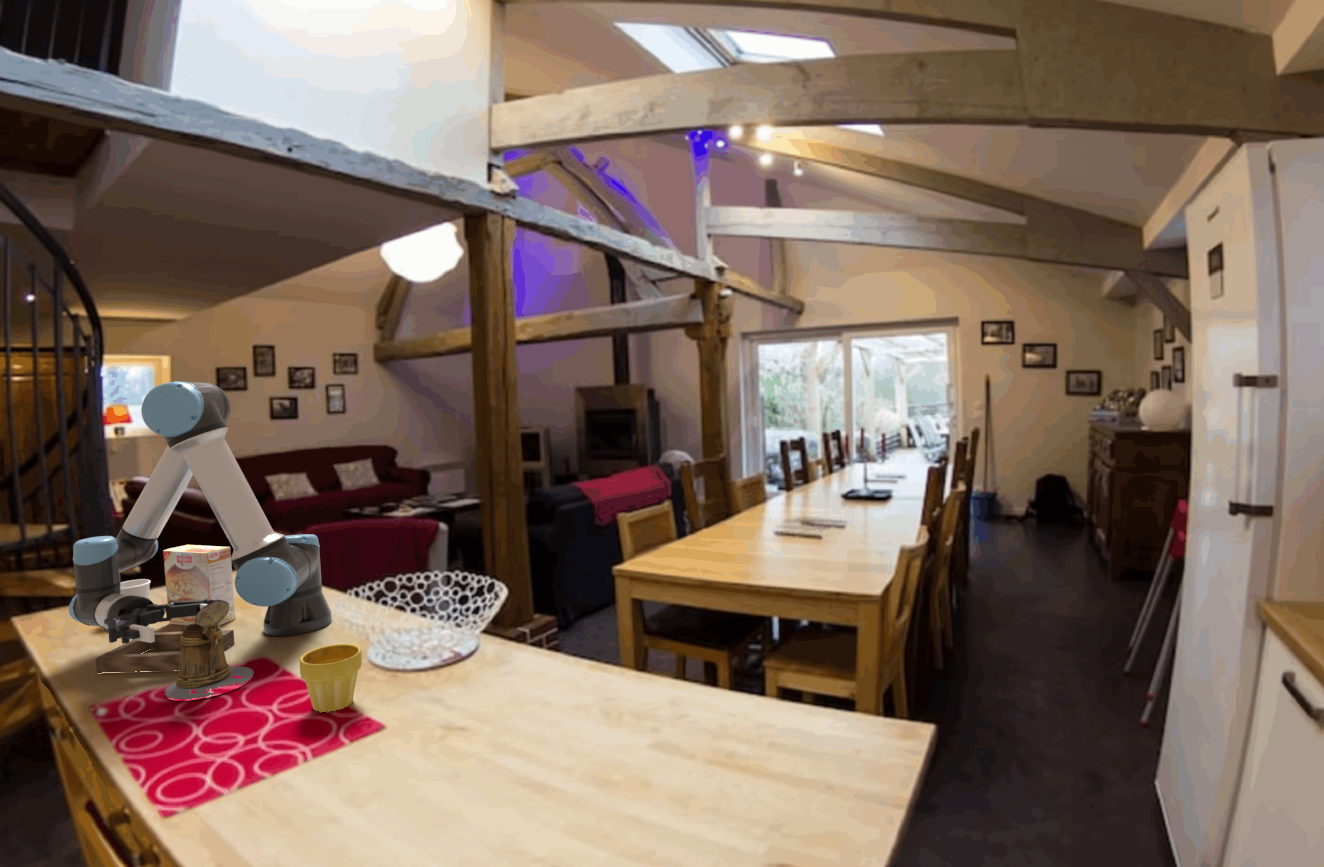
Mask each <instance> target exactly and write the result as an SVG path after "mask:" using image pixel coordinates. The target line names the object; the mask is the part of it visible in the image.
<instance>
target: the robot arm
mask: <svg viewBox="0 0 1324 867" xmlns="http://www.w3.org/2000/svg"><path fill="white" fill-rule="evenodd" d="M140 410H141V412H140V413H141V417H142V421H143V422H144V424H145V425H146V427H147V428H148V429H150V430H151V431H152V432H153V433H155V434H157V435H159V436H162V437H163V438H164V441H165V442H166V444H167V446H166V448H165V450H164V452H163V454H162V455H161V457H160V458H159V461H158V462H157V464H156V466H155V467H154V470H153V471H152V473H151V474H150V477H149V479H148V480H147V482H146V484H145V485H144V487H143V490H142V491H141V492H140V494H139V497H138V498H137V500H136V501H135V504H134V505H133V506H132V509H131V510H130V512H129V514H128V516H127V518H126V519H125V521H124V523H123V525H122V527H121V529H120V531H119V533H118V534H117V536H116V537H114V536H112V535H102V536H101V535H100V536H99V535H98V536H93V537H87V538H83V539H79V540H77V541H76V542H74V544H73V546H72V548H73V549H72V550H73V554H72V555H73V556H72V561H73V569H74V578H75V587H76V588H75V589H76V591H75V592H76V594H75V595H74V596H73V597H72V599H71V601H70V603H69V605H68V614H69V616H70V617H71V619H73V620H74V621H75V622H77V623H80V624H83V625H85V626H89V627H90V626H91V627H92V626H93V627H100V628H104V632H105V633H108V634H107V635H108V642H109V643H116V642H117V641H118V639H121V645H124V644H126V643H128V642H130V640H139V641H144V642H149V643H152V642H155V637H154V633H155V628H154V627H150V626H149V625H153V624H157V623H162V622H169V621H170V620H171V619H172V618H179V617H188V616H196V614H197V613H198V612H199V610H201V609H202V608H203V607H204V606H206V605H207V604H209V603H211V602H212V601H214V600H212V599H211V600H207V599H204V600H193V601H173V600H172V601H169V604H168V603H165V604H157V603H154V602H153V601H151V599H150V598H149V599H148V598H145V597H140V596H134V595H129V594H122V593H121V588H120V583H121V574H120V573H122V572H124V571H126V570H129V569H131V568H133V567H137V566H139V565H142V564H144V563H146V562H148V561H149V560H150V559H152V558H153V557H154V556H155V555H156V553H157V552H158V549H159V541H158V538H159V536H160V535H161V533H162V531H163V529H164V527H165V526H166V523H168V520H169V519H170V517H171V515H172V513H173V511H174V510H175V509H176V506H177V505H178V502H179V501H180V499H181V498H182V495H183V494H184V492H185V490H186V489H187V487H188V485H189V483H190V481H191V479H192V478H193V476H194V479H195V480H196V482H197V484H198V486H199V488H200V490H201V491H202V493H203V495H204V497H205V499H206V500H207V503H208V504H209V506H210V508H211V510H212V512H213V514H214V516H215V517H216V519H217V521H218V523H219V525H220V527H221V528H222V531H223V532H224V534H225V536H226V538H227V539H228V541H229V544H230V545H231V546H232V549H233V552H232V554H231V565H233V566H232V567H234V570H235V571H236V574H235V578H234V587H235V590H236V593H237V594H238V596H239V597H240V598H241V600H243V601H245V602H246V603H248V604H250V605H252V606H257V607H263V608H264V607H267V608H266V613H265V616H264V619H263V624H262V625H263V633H264V634H265V635H267V636H274V637H275V636H276V637H286V636H287V637H288V636H295V635H302V634H305V633H309V632H313V631H316V630H319V629H321V628H325V627H326V626H328V625H329V624H330V623H331V622H332V621H333V620H332V619H333V618H332V611H331V609H330V606H329V604H328V601H327V600H326V597H325V595H324V593H323V586H322V585H323V583H322V572H321V571H322V570H321V557H320V555H321V554H320V548H321V545H320V542H319V538H318V536H317V535H316V534H313V533H312V534H309V533H308V534H307V533H306V534H293V535H285V534H282V533H280V532H279V533H278V532H276V531H274V529H273V528H272V525H271V523H270V522H269V520H268V518H267V516H266V515H265V514H266V513H264V510H263V509H262V506H261V505H260V503H259V501H258V499H257V498H256V496H255V494H254V491H253V490H252V488H251V486H250V483H249V482H248V480H247V478H246V477H245V474H244V473H243V471H242V469H241V467H240V465H239V463H238V462H237V460H236V457H235V456H234V454H233V451H232V450H231V448H230V446H229V444H228V442H227V441H226V438H225V437H226V434H227V432H228V430H229V428H228V422H229V421H230V418H231V414H232V404H231V400H230V398H229V396H228V395H227V393H226V392H225V391H224V390H223V389H222V388H220V387H219V386H217V385H215V384H214V383H210V382H204V381H195V382H194V381H182V380H174V381H170V382H169V381H168V382H165V383H164V382H163V383H161V384H159V385H156V386H155V387H153V388H152V389H150V391H148V393H147V394H146V395H145V397H144V398H143V402H142V403H141V408H140ZM165 615H166V616H165ZM164 616H165V617H164Z"/></svg>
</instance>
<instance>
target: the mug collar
mask: <svg viewBox="0 0 1324 867" xmlns="http://www.w3.org/2000/svg"><path fill="white" fill-rule="evenodd" d="M221 632H222V634H223V637H222V638H221V640H222V645H223V649H224V651H226V650H227V648H228V649H229V648H230V647H229V646H231V645H233V644H234V645H235V644H236V643H235V634H234V629H221ZM181 635H182V631H166V632H165V631H164V632H162V631H161V632H160V631H159V632H154V637H155V642H152V643H149V642H144V641H139V640H134V639H131V640H129V642H128V643H124V644H121V645H120V646H118V647H116V648H113V649H112V650H110V651H107V652H105V653H103V654H101V655H99V656H97V657H95V658H94V659H95V670H96V674H97V673H102V672H135V671H137V672H140V671H173V672H175V671H174V670H177V671H176V672H179V671H178V670H179V665H180V655H181V652H164V653H163V652H160V653H159V652H157V653H146V652H145V651H147V650H149V649H155V650H175V649H176V648H181V643H180V638H181ZM234 645H233V646H234ZM231 647H232V646H231ZM225 649H226V650H225ZM176 650H177V649H176ZM149 651H150V650H149ZM143 652H145V653H143ZM147 652H148V651H147ZM141 653H143V654H141Z"/></svg>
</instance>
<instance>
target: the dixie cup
mask: <svg viewBox="0 0 1324 867" xmlns="http://www.w3.org/2000/svg"><path fill="white" fill-rule="evenodd" d="M150 585H151V580H150V579H148V578H147V579H146V578H139V579H131V580H126V581H122V582H121V581H120V588H121V593H122V594H129V595H134V596H140V597H145V598H148V599H149V600H150V588H151V587H150Z"/></svg>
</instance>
